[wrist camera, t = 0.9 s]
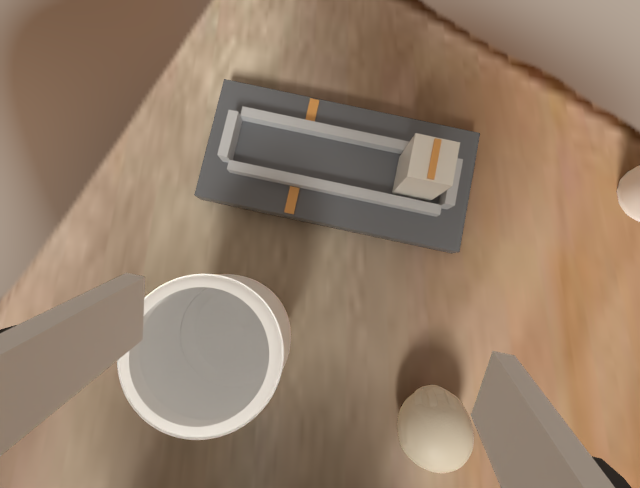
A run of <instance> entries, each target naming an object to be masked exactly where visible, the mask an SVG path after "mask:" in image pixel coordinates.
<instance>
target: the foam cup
mask: <svg viewBox="0 0 640 488" xmlns="http://www.w3.org/2000/svg"><path fill="white" fill-rule="evenodd" d="M617 196H618V201H619V205H620V206H621V207H622V209H623V210H624V212H625V213H626V214H627V215H628V216H630V217H631V218H633V219H635V220H636V221H639V222H640V165H639V166H637V167H635V168H633V169H632V170H630V171H628V172H627V173H626V174H625V175H624V176H623V177H622V178H621V179H620V181H619V185H618V188H617Z"/></svg>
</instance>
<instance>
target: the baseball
mask: <svg viewBox="0 0 640 488" xmlns="http://www.w3.org/2000/svg"><path fill="white" fill-rule="evenodd" d="M397 431H398V437H399V442H400V445H401V447H402V449H403V451H404V452H405V453H406V455H407V456H408V457H409V458H410V459H411V460H412V461H413V462H414V463H415V464H416V465H418V466H419V467H421V468H423V469H425V470H428V471H431V472H435V473H447V472H452V471H455V470H457V469H459V468H460V467H462V466H463V465H464V464H465V462H466V461H467V460H468V458H469V457H470V455H471V453H472V450H473V444H474V433H473V427H472V423H471V420H470V417H469V415H468V413H467V411H466V410H465V408H464V406H463V403H462V402H461V401H460V399H459V398H458V397H456V396H455V395H454V394H452V393H451V392H449V391H448V390H446V389H444V388H442V387H440V386H437V385H427V386H422V387H420V388H418V389H417V390H416V391H415V392H414V393H413V394H412V395H410V396H409V397H408V398H407V399H406V400H405V401H404V403H403V404H402V406H401V408H400V411H399V415H398V420H397Z"/></svg>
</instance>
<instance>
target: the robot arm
mask: <svg viewBox="0 0 640 488" xmlns="http://www.w3.org/2000/svg"><path fill="white" fill-rule="evenodd" d="M144 292H145V277H144V276H140V275H135V274H130V273H125V274H123V275H121V276H119V277H116V278H114V279H112V280H110V281H108V282H106V283H104V284H102V285H100V286H98V287H96V288H94V289H92V290H89V291H87V292H85V293H83V294H81V295H79V296H77V297H75V298H73V299H71V300H69V301H67V302H64V303H62V304H60V305H58V306H56V307H54V308H52V309H50V310H48V311H46V312H44V313H42V314H40V315H37V316H35V317H33V318H31V319H29V320H27V321H25V322H23V323H21V324H19V325H15V326H11V327H8V328H4V329H1V330H0V456H1V455H2V454H4V453H5V452H6V451H7V450H9V449H10V448H11V447H12V446H13V445H15V444H16V443H17V442H18V441H20V440H21V439H22V438H23V437H24V436H26V435H27V434H28V433H29V432H31V431H32V430H33V429H34V428H35V427H37V426H38V425H39V424H40V423H42V422H43V421H44V420H45V419H46V418H48V417H49V416H50V415H51V414H53V413H54V412H55V411H56V410H57V409H59V408H60V407H61V406H62V405H64V404H65V403H66V402H67V401H68V400H70V399H71V398H72V397H73V396H75V395H76V394H77V393H78V392H79V391H81V390H82V389H83V388H84V387H86V386H87V385H88V384H89V383H90V382H92V381H93V380H94V379H95V378H97V377H98V376H99V375H100V374H101V373H103V372H104V371H105V370H106V369H108V368H109V367H110V366H111V365H112V364H114V363H115V362H116V361H117V360H119V359H120V358H121V357H122V356H123V355H125V354H126V353H127V352H128V351H130V350H131V349H132V348H133V347H134V346H136V345H137V344H138V343H139V342H141V341H142V340H143V317H144ZM471 416H472V419H473V421H474V424H475V426H476V429H477V431H478V433H479V436H480V438H481V441H482V443H483V445H484V448H485V450H486V453H487V455H488V457H489V460H490V462H491V465H492V467H493V470H494V472H495V474H496V477H497V479H498V482H499V484H500V486H501V488H631V486H630V485H629V484H628V483H627V482H626V480H625V479H624V478H623V477H622V476H621V475H620V474H618V473H617V472H616V471H615V470H614V469H613V468H611V467H610V466H609V465H608V464H607V463H606V462H605V461H603V460H602V459H601V458H596V457H592V456H591V455H590V454H589V453H588V451H587V450H586V449H585V447H584V446H583V445H582V443H581V442H580V441H579V439H578V438H577V437H576V435H575V434H574V433H573V432H572V430H571V429H570V428H569V426H568V425H567V424H566V422H565V421H564V420H563V418H562V417H561V416H560V414H559V413H558V412H557V410H556V409H555V408H554V407H553V405H552V404H551V403H550V401H549V400H548V399H547V397H546V396H545V395H544V393H543V392H542V391H541V389H540V388H539V387H538V385H537V384H536V383H535V382H534V380H533V379H532V378H531V376H530V375H529V374H528V372H527V371H526V370H525V368H524V367H523V366H522V364H521V363H520V362H519V361H518V359H517V358H516V357H515V356H514V355H509V354H505V353H500V352H495V351H493V352H492V354H491V357H490V360H489V363H488V366H487V369H486V372H485V375H484V378H483V381H482V384H481V387H480V390H479V393H478V396H477V399H476V402H475V405H474V407H473V410H472V413H471Z"/></svg>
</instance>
